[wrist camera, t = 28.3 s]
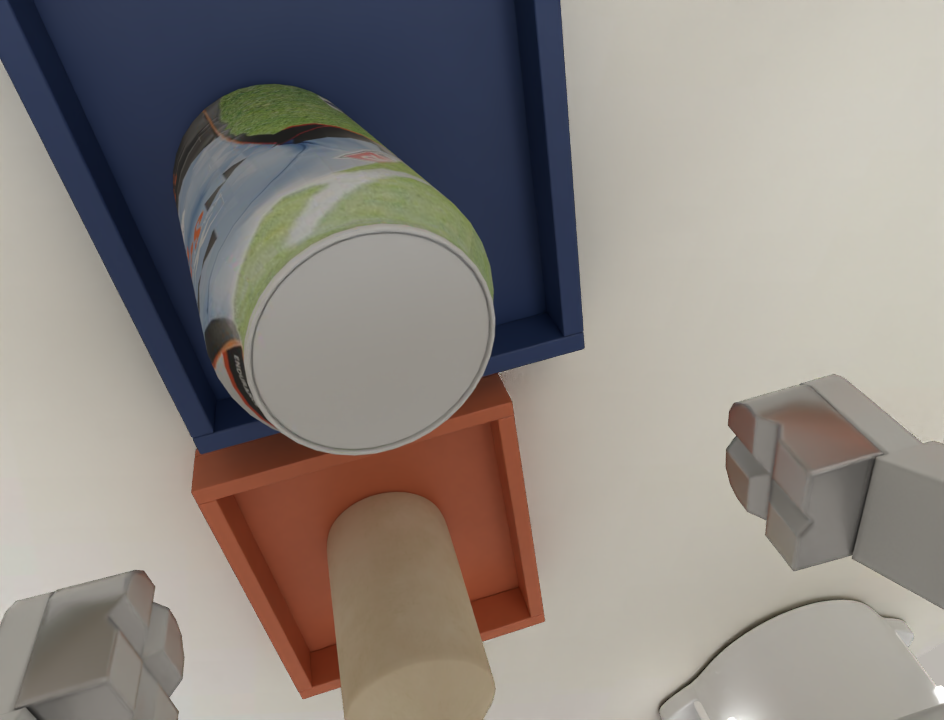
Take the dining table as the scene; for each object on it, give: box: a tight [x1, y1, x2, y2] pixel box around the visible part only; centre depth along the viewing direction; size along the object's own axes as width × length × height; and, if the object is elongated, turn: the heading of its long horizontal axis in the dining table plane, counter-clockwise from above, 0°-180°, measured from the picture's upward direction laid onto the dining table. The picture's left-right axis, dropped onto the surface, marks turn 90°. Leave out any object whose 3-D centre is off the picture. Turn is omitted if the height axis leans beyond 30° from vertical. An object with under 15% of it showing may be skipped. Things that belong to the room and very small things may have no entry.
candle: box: [327, 492, 495, 720], centre depth 29 cm, size 6×6×10 cm
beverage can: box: [173, 84, 495, 456], centre depth 18 cm, size 6×7×12 cm
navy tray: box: [0, 0, 585, 454], centre depth 22 cm, size 18×15×2 cm
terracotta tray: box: [191, 373, 545, 699], centre depth 32 cm, size 14×12×2 cm
